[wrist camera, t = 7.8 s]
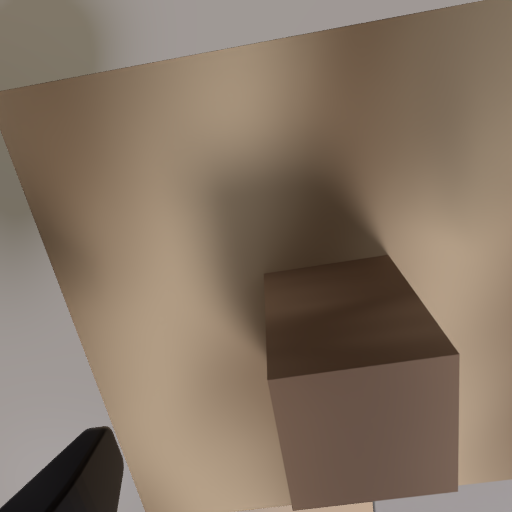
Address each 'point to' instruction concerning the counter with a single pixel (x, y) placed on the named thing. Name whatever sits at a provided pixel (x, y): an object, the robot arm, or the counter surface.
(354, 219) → the lid
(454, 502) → the mat
